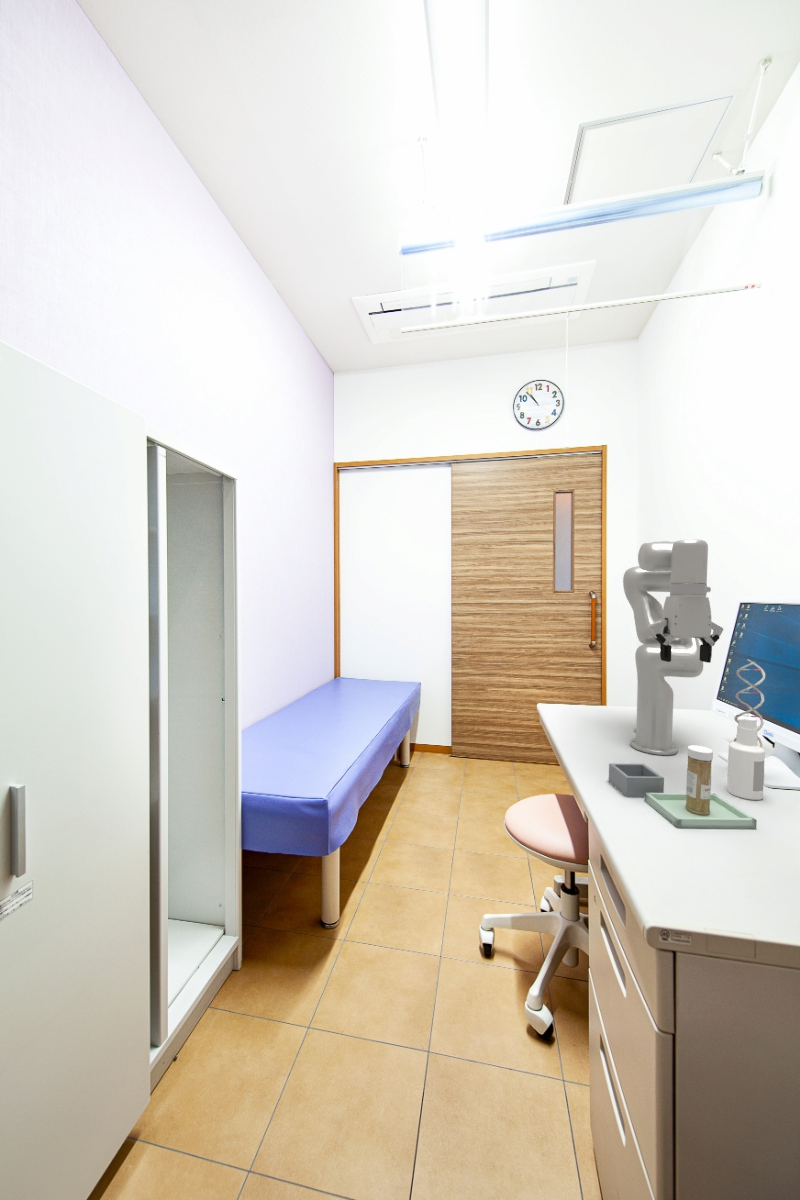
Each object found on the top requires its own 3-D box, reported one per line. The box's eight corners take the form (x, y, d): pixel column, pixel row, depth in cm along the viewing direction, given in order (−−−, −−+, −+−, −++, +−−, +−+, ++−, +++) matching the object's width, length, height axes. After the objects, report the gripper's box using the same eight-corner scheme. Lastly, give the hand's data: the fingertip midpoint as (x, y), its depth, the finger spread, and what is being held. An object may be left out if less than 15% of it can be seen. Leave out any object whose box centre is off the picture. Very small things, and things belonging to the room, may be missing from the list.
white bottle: (769, 802, 105) (772, 723, 105) (735, 798, 106) (738, 720, 106) (753, 789, 112) (756, 715, 111) (721, 786, 113) (724, 713, 113)
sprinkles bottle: (712, 817, 96) (715, 753, 96) (687, 813, 98) (690, 749, 97) (707, 808, 100) (710, 746, 100) (682, 803, 102) (685, 743, 102)
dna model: (766, 782, 116) (771, 663, 115) (736, 778, 118) (740, 661, 118) (756, 773, 122) (761, 659, 122) (727, 769, 125) (732, 657, 124)
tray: (644, 800, 105) (644, 792, 105) (714, 801, 105) (714, 793, 105) (677, 828, 93) (677, 819, 93) (756, 828, 93) (756, 820, 93)
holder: (608, 781, 115) (609, 763, 115) (643, 781, 115) (643, 763, 115) (626, 797, 106) (626, 777, 106) (663, 797, 106) (664, 778, 106)
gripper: (712, 591, 117) (709, 659, 117) (644, 590, 116) (641, 658, 117) (734, 592, 109) (731, 664, 110) (661, 590, 109) (659, 663, 109)
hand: (685, 661), depth 113 cm, fingers open, 9 cm apart
